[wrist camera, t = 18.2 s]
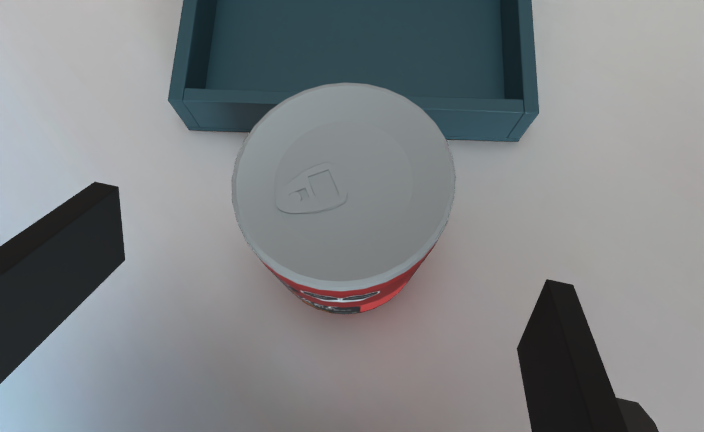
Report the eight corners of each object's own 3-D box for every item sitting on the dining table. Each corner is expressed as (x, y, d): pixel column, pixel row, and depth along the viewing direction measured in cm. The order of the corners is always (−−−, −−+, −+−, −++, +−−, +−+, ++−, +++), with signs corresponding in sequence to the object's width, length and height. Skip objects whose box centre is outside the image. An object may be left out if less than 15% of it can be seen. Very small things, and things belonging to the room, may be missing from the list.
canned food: (249, 236, 28) (186, 163, 18) (361, 154, 29) (365, 40, 19) (332, 347, 26) (317, 340, 16) (446, 255, 28) (503, 193, 17)
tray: (507, -59, 34) (524, -107, 30) (518, 141, 30) (539, 113, 26) (216, -67, 34) (201, -116, 30) (188, 130, 30) (167, 100, 26)
